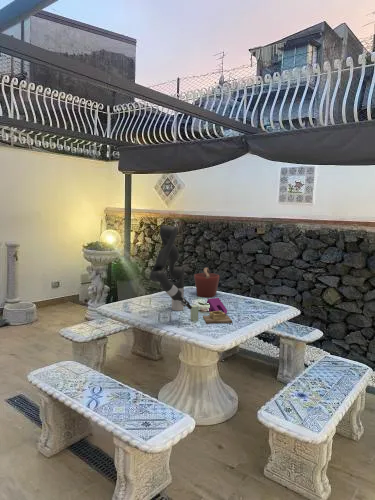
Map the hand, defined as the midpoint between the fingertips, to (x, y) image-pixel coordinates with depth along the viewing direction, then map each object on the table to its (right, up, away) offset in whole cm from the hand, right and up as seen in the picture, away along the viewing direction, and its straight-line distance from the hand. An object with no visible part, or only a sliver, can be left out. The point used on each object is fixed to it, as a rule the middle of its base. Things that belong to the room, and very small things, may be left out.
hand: (188, 306), depth 257 cm
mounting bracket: (+22, -8, +23) cm, 33 cm away
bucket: (+16, -2, +76) cm, 78 cm away
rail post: (+4, -10, +3) cm, 11 cm away
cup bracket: (+20, -10, +3) cm, 23 cm away
